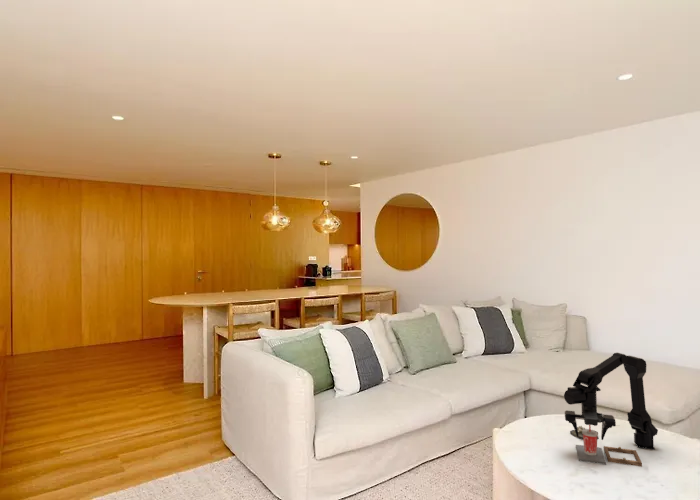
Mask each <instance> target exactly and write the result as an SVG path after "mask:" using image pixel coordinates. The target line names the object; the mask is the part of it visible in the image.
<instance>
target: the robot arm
mask: <svg viewBox="0 0 700 500" xmlns="http://www.w3.org/2000/svg"><path fill="white" fill-rule="evenodd" d="M622 365H623V369H624V371H625V372H626V374H627V375H628V377H629V378H628V379H629V387H630V397H631V407H632V408H631V410H630V411H628V412H627V413H626V415H627V422H628V423H629V425H630V427H631V429H632V430H635V432H633V442H634V444H635V445H636V447H637V448H638V449H639V448H640V449H648V450H655V445H654V437H655V436H658V431H659V429H658V428H656V426H655V425H654V424H653V422H652V417H651V415H650V414H649V412H648V410H647V408H646V398H645V387H644V376H645V375H646V373H647V361H646V360H644V359H643V358H640V357H638V356H633V355H626V354H624V353H620V352H614V353H612V355H611V356H610V357H608V358H606V359H605V360H603V361H602V362H600V363H599V364H596V366H594V367H589V368H585V369H583V370H580V371H579V373H578V376H577V377H576V378H575V381H574V383H573V384H572V386H573V387H571V386H568V387H567V390H565V392H564V393H563V398H564V401H565V403H566V404H568V405H577V404H578V405H579V404H581V414H578V413H576V412H575V411H574V410H565V411H564V419H565V421H566V422H568V424H572V427H573V430H575V432H576V435H577V437H578V429H577V427H578V424H577V423H578V422H577V420H583V421H584V424H585V425H587V426H589V425H590V426H594V427H597V426H598V424H601V435H600V437H601V440H602V441H603V440H604V438H605V435H606V433H607V431H608V430H609V429H611V428H613V427H616V426H617V425H616V424H617V423H616V419H615V417H614V415H612V414H605V413H604V414H603V413H600V412H598V409H597V407H598V406H597V405H598V404H597V401H598V399H597V392H600V391H601V390H602V389H601V388H600V387H599V386H598V385H600V384H601V383H602V381H603V379H604V377H605V376H607V375H609V374H610V373H611V372H613V371H615V370H616V369H617V368H619V367H620V366H622Z"/></svg>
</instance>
